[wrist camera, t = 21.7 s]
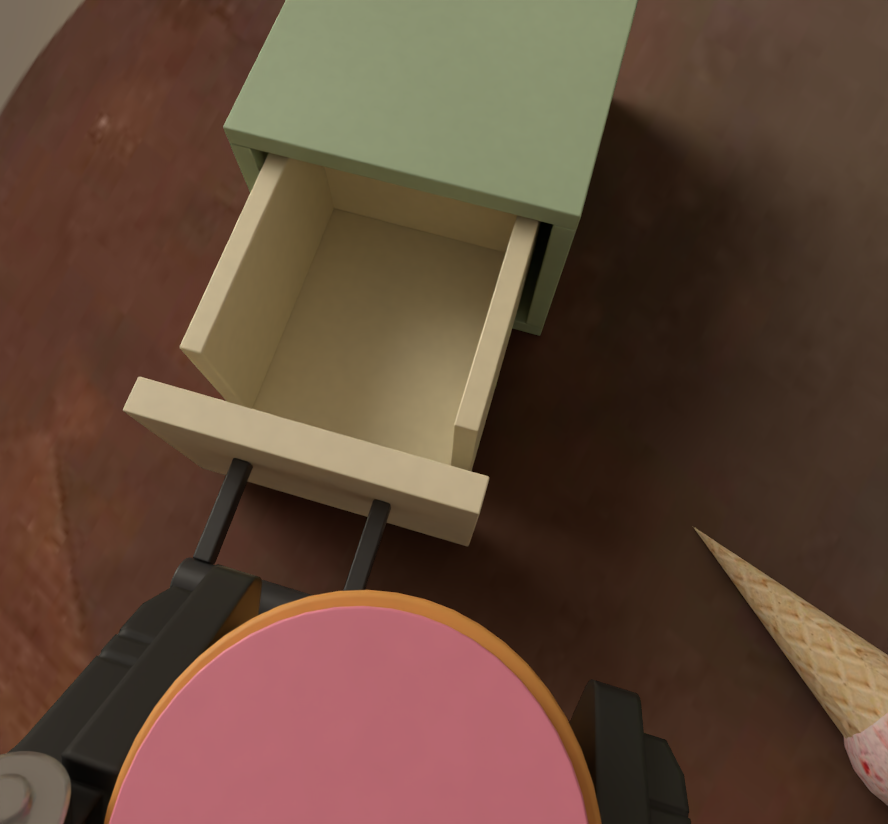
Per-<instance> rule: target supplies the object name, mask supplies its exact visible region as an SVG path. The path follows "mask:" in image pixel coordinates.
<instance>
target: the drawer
mask: <svg viewBox="0 0 888 824" xmlns="http://www.w3.org/2000/svg"><path fill="white" fill-rule="evenodd" d="M541 222H542V221H538V220H534V219H530V218H526V217H522V216H518V215H514V214H510V213H506V212H502V211H498V210H494V209H490V208H486V207H482V206H478V205H474V204H471V203H467V202H463V201H459V200H455V199H451V198H447V197H443V196H439V195H435V194H431V193H427V192H423V191H419V190H415V189H411V188H407V187H403V186H399V185H395V184H391V183H387V182H383V181H379V180H375V179H371V178H367V177H363V176H360V175H356V174H352V173H348V172H344V171H340V170H336V169H332V168H328V167H324V166H320V165H316V164H312V163H308V162H304V161H300V160H296V159H292V158H288V157H284V156H280V155H276V154H272V153H269V154H268V156H267V158H266V160H265V162H264V165H263V167H262V169H261V171H260V173H259V176H258V178H257V180H256V182H255V184H254V186H253V189H252V191H251V193H250V195H249V197H248V199H247V202H246V204H245V206H244V208H243V210H242V212H241V215H240V217H239V219H238V221H237V223H236V225H235V228H234V230H233V232H232V234H231V236H230V239H229V241H228V243H227V245H226V247H225V249H224V252H223V254H222V256H221V258H220V260H219V262H218V265H217V267H216V269H215V271H214V273H213V275H212V278H211V280H210V282H209V284H208V286H207V288H206V291H205V293H204V295H203V297H202V299H201V302H200V304H199V306H198V308H197V310H196V312H195V315H194V317H193V319H192V321H191V323H190V325H189V328H188V330H187V332H186V334H185V336H184V338H183V341H182V343H181V345H180V349H181V350H182V351H183V352H184V353H185V354H186V356H187V357H188V358H189V359H190V360H191V361H192V362H193V363H194V365H195V366H196V367H197V368H198V369H199V370H200V371H201V373H202V374H203V375H204V376H205V377H206V378H207V379H208V380H209V382H210V383H211V384H212V385H213V386H214V387H215V388H216V389H217V391H218V392H219V393H220V394H221V395H222V396H223V397H224V398H225V400H226V401H223V400H220V399H216V398H213V397H209V396H206V395H202V394H199V393H195V392H192V391H188V390H185V389H181V388H178V387H174V386H171V385H167V384H164V383H160V382H157V381H153V380H150V379H146V378H143V377H138V379H137V381H136V383H135V385H134V387H133V389H132V391H131V394H130V396H129V398H128V400H127V402H126V404H125V406H124V408H123V411H124V412H125V413H127V414H128V415H129V416H131V417H132V418H134V419H135V420H136V421H138V422H139V423H141V424H142V425H143V426H145V427H146V428H147V429H149V430H150V431H152V432H153V433H154V434H156V435H157V436H159V437H160V438H161V439H163V440H164V441H165V442H167V443H168V444H170V445H171V446H172V447H174V448H175V449H176V450H178V451H179V452H181V453H182V454H183V455H185V456H186V457H188V458H189V459H190V460H192V461H193V462H194V463H196V464H197V465H199V466H200V467H201V468H204V469H207V470H210V471H214V472H217V473H221V474H224V475H226V477H225V479H224V482H223V484H222V487H221V489H220V492H219V494H218V497H217V499H216V502H215V504H214V506H213V509H212V511H211V514H210V516H209V519H208V521H207V524H206V526H205V529H204V531H203V533H202V536H201V538H200V541H199V543H198V546H197V548H196V551H195V553H194V556H193V558H194V559H193V558H186V559H185V560H184V561H183V562H182V563H181V564H180V565H179V567H178V568H177V570H176V572H175V574H174V576H173V578H172V581H171V585H170V588H171V587H173V586H176V587H179V588H182V589H185V590H188V591H193V590H194V589H195V588H196V586H197V585H198V584H199V583H200V581H201V580H202V579H203V578H204V576H205V575H206V574H207V573H208V571H209V570H210V569H211V568H212V567H213V566H215V565H213V564H214V563H215V562H216V559H217V557H218V554H219V552H220V549H221V547H222V544H223V541H224V539H225V536H226V534H227V531H228V529H229V526H230V524H231V521H232V519H233V516H234V514H235V511H236V509H237V506H238V504H239V501H240V499H241V496H242V493H243V491H244V488H245V486H246V483H247V481H248V482H251V483H254V484H258V485H261V486H265V487H268V488H271V489H275V490H278V491H281V492H285V493H288V494H292V495H295V496H298V497H302V498H305V499H308V500H312V501H315V502H319V503H322V504H325V505H329V506H332V507H336V508H339V509H342V510H346V511H349V512H352V513H356V514H359V515H363V516H366V517H367V520H366V523H365V526H364V529H363V532H362V535H361V538H360V541H359V544H358V547H357V550H356V554H355V557H354V560H353V563H352V566H351V569H350V572H349V575H348V578H347V581H346V584H345V587H344V590H343V591H352V590H365V588H366V585H367V582H368V579H369V576H370V573H371V569H372V566H373V563H374V560H375V557H376V554H377V551H378V548H379V544H380V541H381V538H382V535H383V532H384V529H385V526H386V523H390V524H393V525H396V526H400V527H403V528H407V529H410V530H413V531H417V532H420V533H423V534H427V535H430V536H434V537H437V538H440V539H444V540H447V541H451V542H454V543H457V544H461V545H464V546H469V543H470V541H471V538H472V535H473V532H474V529H475V526H476V523H477V520H478V517H479V515H480V511H481V508H482V504H483V500H484V497H485V493H486V489H487V486H488V482H489V477H488V476H485V475H482V474H478V473H475V472H471V471H472V468H473V464H474V461H475V457H476V454H477V450H478V447H479V443H480V440H481V436H482V433H483V429H484V426H485V422H486V419H487V415H488V412H489V408H490V405H491V401H492V398H493V394H494V391H495V387H496V384H497V380H498V377H499V373H500V370H501V366H502V363H503V359H504V356H505V352H506V348H507V345H508V341H509V338H510V334H511V331H512V327H513V324H514V320H515V317H516V313H517V310H518V306H519V303H520V299H521V296H522V292H523V289H524V285H525V282H526V278H527V275H528V271H529V268H530V264H531V261H532V257H533V254H534V250H535V246H536V242H537V238H538V234H539V230H540V226H541ZM261 580H262V579H261ZM308 596H313V595H310V594H307V593H304V592H301V591H297V590H294V589H291V588H288V587H284V586H281V585H278V584H275V583H271V582H268V581H265V580H262V589H261V597H260V606H259V615H260V614H262V613H265V612H267V611H269V610H271V609H273V608H275V607H278V606H280V605H283V604H286V603H289V602H292V601H295V600H299V599H302V598H305V597H308Z"/></svg>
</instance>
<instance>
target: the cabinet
mask: <svg viewBox="0 0 888 824" xmlns="http://www.w3.org/2000/svg"><path fill="white" fill-rule="evenodd" d="M637 3H638V0H286V1H285V3H284V5H283V7H282V9H281V11H280V13H279V15H278V17H277V19H276V21H275V23H274V25H273V27H272V29H271V31H270V33H269V35H268V37H267V39H266V41H265V43H264V45H263V48H262V50H261V52H260V54H259V56H258V58H257V60H256V62H255V64H254V66H253V68H252V70H251V72H250V74H249V76H248V78H247V80H246V82H245V84H244V86H243V88H242V90H241V92H240V94H239V96H238V98H237V100H236V102H235V104H234V106H233V108H232V110H231V112H230V114H229V116H228V118H227V120H226V122H225V124H224V131H225V133H226V135H227V138H228V140H229V142H230V145H231V148H232V150H233V153H234V155H235V157H236V160H237V162H238V164H239V167H240V169H241V172H242V174H243V176H244V179H245V181H246V184H247V186H248V188H249V191H250V193H251V191H252V189H253V186H254V184H255V182H256V180H257V178H258V176H259V173H260V171H261V169H262V167H263V165H264V162H265V160H266V158H267V156H268V154H269V153H272V154H276V155H280V156H284V157H288V158H292V159H296V160H300V161H304V162H308V163H312V164H316V165H320V166H324V167H328V168H332V169H336V170H340V171H344V172H348V173H352V174H356V175H360V176H363V177H367V178H371V179H375V180H379V181H383V182H387V183H391V184H395V185H399V186H403V187H407V188H411V189H415V190H419V191H423V192H427V193H431V194H435V195H439V196H443V197H447V198H451V199H455V200H459V201H463V202H467V203H471V204H474V205H478V206H482V207H486V208H490V209H494V210H498V211H502V212H506V213H510V214H514V215H518V216H522V217H526V218H530V219H534V220H538V221H542V222H541V226H540V230H539V234H538V238H537V242H536V246H535V250H534V254H533V257H532V261H531V264H530V268H529V271H528V275H527V278H526V282H525V285H524V289H523V292H522V296H521V299H520V303H519V306H518V310H517V313H516V317H515V320H514V324H513V327H512V328H513V329H516V330H520V331H524V332H528V333H531V334H535V335H539V336H540V335H541V332H542V329H543V326H544V323H545V320H546V317H547V314H548V311H549V309H550V306H551V303H552V300H553V297H554V294H555V291H556V288H557V285H558V282H559V279H560V276H561V274H562V271H563V268H564V265H565V262H566V259H567V256H568V253H569V250H570V247H571V244H572V241H573V238H574V236H575V233H576V229H577V227H578V224H579V221H580V218H581V215H582V211H583V207H584V203H585V200H586V196H587V192H588V188H589V184H590V181H591V177H592V173H593V169H594V166H595V162H596V158H597V154H598V150H599V147H600V143H601V139H602V135H603V131H604V128H605V124H606V120H607V116H608V113H609V109H610V105H611V101H612V97H613V94H614V90H615V86H616V82H617V79H618V75H619V71H620V67H621V63H622V60H623V56H624V52H625V48H626V44H627V41H628V37H629V33H630V29H631V26H632V22H633V18H634V14H635V10H636V7H637Z"/></svg>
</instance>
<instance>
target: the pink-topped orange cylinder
mask: <svg viewBox="0 0 888 824" xmlns="http://www.w3.org/2000/svg"><path fill="white" fill-rule="evenodd" d="M104 824H602V822H601V816H600V812H599V807H598V802H597V798H596V793H595V789H594V784H593V781H592V778H591V775H590V772H589V769H588V766H587V763H586V760H585V757H584V755H583V752H582V749H581V747H580V745H579V743H578V741H577V738H576V736H575V734H574V732H573V730H572V728H571V726H570V724H569V722H568V720H567V718H566V716H565V714H564V713H563V711H562V710H561V708H560V707H559V705H558V703H557V702H556V700H555V699H554V697H553V695H552V694H551V692H550V691H549V689H548V688H547V687H546V686H545V684H544V683H543V682H542V681H541V679H540V678H539V677H538V676H537V675H536V673H535V672H534V671H533V670H532V668H531V667H530V666H529V665H528V664H527V663H526V662H525V661H524V660H523V659H522V658H521V657H520V656H519V655H518V654H517V653H516V652H515V651H514V650H512V649H511V648H510V647H509V646H508V645H507V644H506V643H505V642H504V641H502V640H501V639H500V638H498V637H497V636H495V635H494V634H493V633H491V632H490V631H489V630H487V629H486V628H485V627H483V626H482V625H480V624H479V623H477V622H475V621H473V620H471V619H469V618H468V617H466V616H464V615H462V614H460V613H458V612H457V611H455V610H453V609H450V608H447V607H445V606H442V605H440V604H437V603H434V602H432V601H429V600H426V599H423V598H418V597H414V596H410V595H405V594H401V593H396V592H386V591H375V590H352V591H336V592H330V593H324V594H319V595H313V596H308V597H305V598H302V599H299V600H295V601H292V602H289V603H286V604H283V605H280V606H278V607H275V608H273V609H271V610H269V611H267V612H265V613H262V614H260V615H258V616H256V617H254V618H252V619H250V620H248V621H247V622H245V623H244V624H242V625H240V626H239V627H237V628H236V629H234V630H232V631H231V632H229V633H228V634H226V635H224V636H223V637H222V638H221V639H219V640H218V641H217V642H216V643H214V644H213V645H212V646H211V647H210V648H208V649H207V650H206V651H205V652H203V653H202V654H201V655H200V656H199V657H198V658H197V659H196V660H195V661H194V662H193V663H192V664H191V665H190V666H189V667H188V668H187V669H186V670H185V671H184V672H183V673H182V674H181V675H180V676H179V677H178V678H177V679H176V680H175V681H174V683H173V684H172V685H171V686H170V688H169V689H168V690H167V692H166V693H165V694H164V695H163V697H162V698H161V699H160V701H159V702H158V703H157V704H156V706H155V707H154V708H153V710H152V712H151V713H150V715H149V717H148V718H147V720H146V722H145V723H144V725H143V726H142V728H141V730H140V731H139V733H138V735H137V736H136V738H135V740H134V742H133V744H132V746H131V748H130V751H129V753H128V755H127V757H126V759H125V761H124V763H123V766H122V768H121V770H120V773H119V775H118V778H117V781H116V784H115V787H114V790H113V793H112V796H111V798H110V801H109V804H108V807H107V812H106V816H105V821H104Z"/></svg>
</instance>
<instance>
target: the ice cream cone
mask: <svg viewBox="0 0 888 824" xmlns="http://www.w3.org/2000/svg"><path fill="white" fill-rule="evenodd" d="M694 529H695V530H696V532H697V533H698V534H699V536H700V537H701V538H702V540H703V541H704V543H705V544H706V545H707V547H708V548H709V550H710V551H711V552H712V554H713V555H714V557H715V558H716V559H717V561H718V562H719V564H720V565H721V566H722V568H723V569H724V570H725V572H726V573H727V575H728V576H729V577H730V579H731V580H732V582H733V583H734V584H735V586H736V587H737V589H738V590H739V591H740V593H741V594H742V596H743V597H744V598H745V600H746V601H747V603H748V604H749V605H750V607H751V608H752V609H753V611H754V612H755V614H756V615H757V616H758V618H759V619H760V621H761V622H762V623H763V625H764V626H765V628H766V629H767V630H768V632H769V633H770V635H771V636H772V637H773V639H774V640H775V641H776V643H777V644H778V646H779V647H780V648H781V650H782V651H783V653H784V654H785V655H786V657H787V658H788V660H789V661H790V662H791V664H792V665H793V667H794V668H795V669H796V671H797V672H798V674H799V675H800V676H801V678H802V679H803V680H804V682H805V683H806V685H807V686H808V687H809V689H810V690H811V692H812V693H813V694H814V696H815V697H816V699H817V700H818V701H819V703H820V704H821V706H822V707H823V708H824V710H825V711H826V712H827V714H828V715H829V717H830V718H831V719H832V721H833V722H834V724H835V725H836V726H837V728H838V729H839V731H840V732H841V733H842V735H843V736H844V746H845V749H846V751H847V754H848V756H849V759H850V761H851V764H852V766H853V769H854V771H855V772H856V773H857V775H858V776H859V777H860V779H861V780H862V781H863V783H864V784H865V785H866V787H867V788H868V789H869V790H870V792H871V793H873V794H874V795H875V796H876V797H878V798H879V799H880V800H881V801H883V802H884V803H885V804H886V805H888V655H887V654H885V653H884V652H882V651H881V650H879V649H878V648H876V647H875V646H873V645H872V644H870V643H869V642H867V641H866V640H864V639H863V638H861V637H860V636H858V635H857V634H855V633H853V632H852V631H850V630H849V629H847V628H846V627H844V626H843V625H841V624H840V623H838V622H837V621H835V620H834V619H832V618H831V617H829V616H828V615H826V614H825V613H823V612H822V611H820V610H819V609H817V608H816V607H814V606H813V605H811V604H810V603H808V602H807V601H805V600H804V599H802V598H801V597H799V596H798V595H796V594H795V593H793V592H791V591H790V590H788V589H787V588H785V587H784V586H782V585H781V584H779V583H778V582H776V581H775V580H773V579H772V578H770V577H769V576H767V575H766V574H764V573H763V572H761V571H760V570H758V569H757V568H755V567H754V566H752V565H751V564H749V563H748V562H746V561H745V560H743V559H742V558H740V557H739V556H737V555H736V554H734V553H733V552H731V551H729V550H728V549H726V548H725V547H723V546H722V545H720V544H719V543H717V542H716V541H714V540H713V539H711V538H710V537H708V536H707V535H705V534H704V533H702V532H701V531H699V530H698V529H696V528H695V527H694Z"/></svg>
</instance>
